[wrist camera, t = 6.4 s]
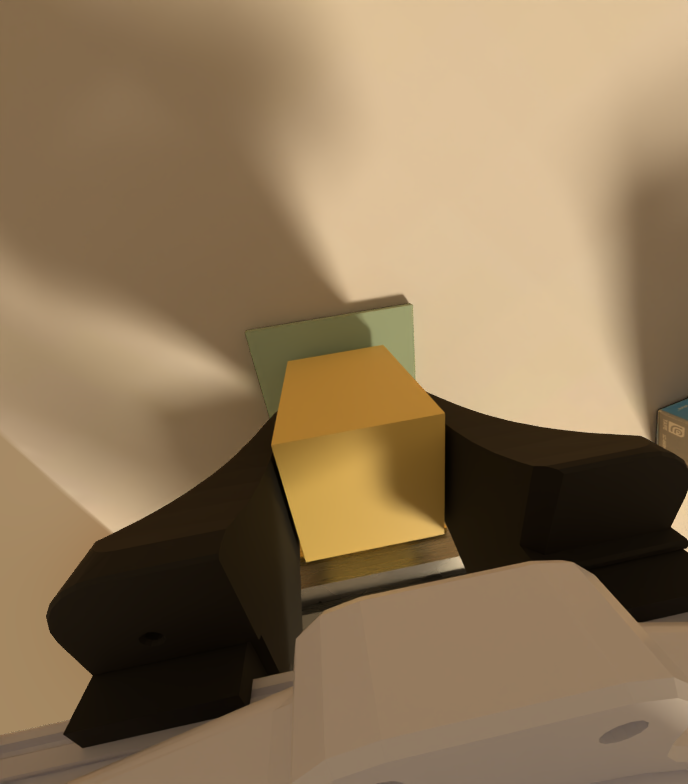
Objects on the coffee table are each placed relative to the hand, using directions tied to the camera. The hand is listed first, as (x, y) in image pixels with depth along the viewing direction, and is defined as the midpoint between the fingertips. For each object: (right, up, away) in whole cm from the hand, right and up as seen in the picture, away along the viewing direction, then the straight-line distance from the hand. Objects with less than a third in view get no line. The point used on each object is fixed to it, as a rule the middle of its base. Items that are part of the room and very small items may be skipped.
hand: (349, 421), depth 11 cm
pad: (0, +1, +3) cm, 3 cm away
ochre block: (0, +1, +2) cm, 2 cm away
